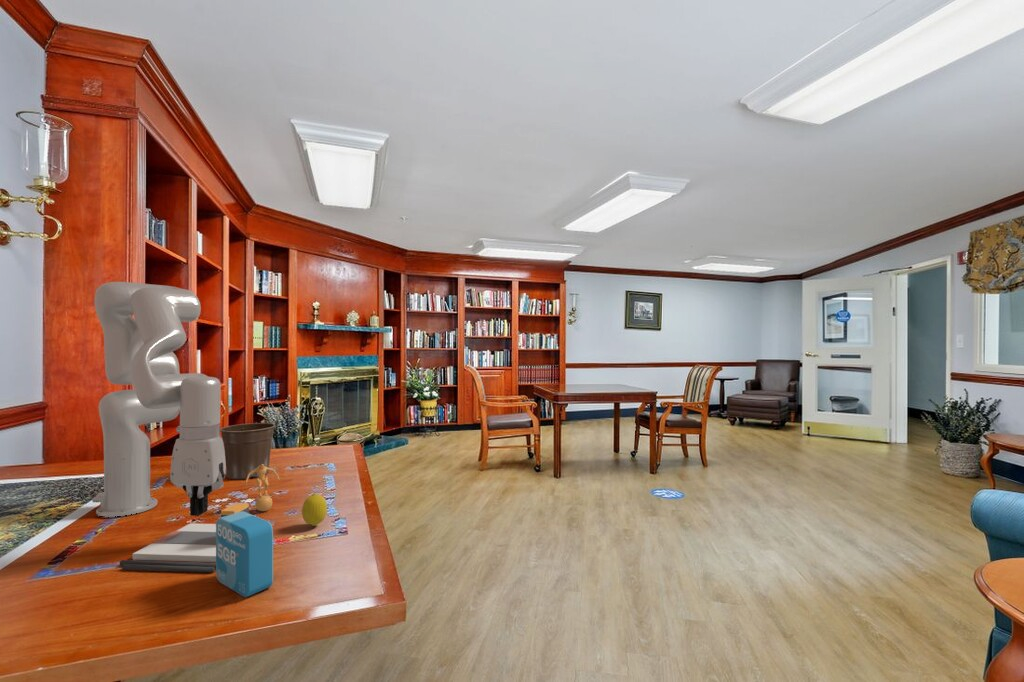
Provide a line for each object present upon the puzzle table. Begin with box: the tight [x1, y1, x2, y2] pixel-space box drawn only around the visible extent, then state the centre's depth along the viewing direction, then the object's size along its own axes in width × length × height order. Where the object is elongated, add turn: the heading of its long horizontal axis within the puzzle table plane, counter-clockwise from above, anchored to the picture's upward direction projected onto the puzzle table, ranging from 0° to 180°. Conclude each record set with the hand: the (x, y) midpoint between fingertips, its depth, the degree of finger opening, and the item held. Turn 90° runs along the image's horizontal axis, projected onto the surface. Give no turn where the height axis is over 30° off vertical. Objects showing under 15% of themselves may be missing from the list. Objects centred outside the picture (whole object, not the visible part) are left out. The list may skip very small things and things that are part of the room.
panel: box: [132, 522, 216, 563], centre depth 104 cm, size 20×16×1 cm
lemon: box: [301, 492, 328, 527], centre depth 114 cm, size 6×6×8 cm
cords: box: [119, 559, 216, 574], centre depth 93 cm, size 20×3×1 cm, turn 86°
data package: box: [215, 511, 274, 598], centre depth 87 cm, size 12×4×12 cm, turn 55°
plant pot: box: [220, 422, 276, 481], centre depth 158 cm, size 16×16×16 cm
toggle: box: [220, 502, 250, 518], centre depth 104 cm, size 3×5×7 cm, turn 176°
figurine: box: [244, 464, 280, 512], centre depth 125 cm, size 8×6×12 cm
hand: (198, 513), depth 106 cm, fingers closed
